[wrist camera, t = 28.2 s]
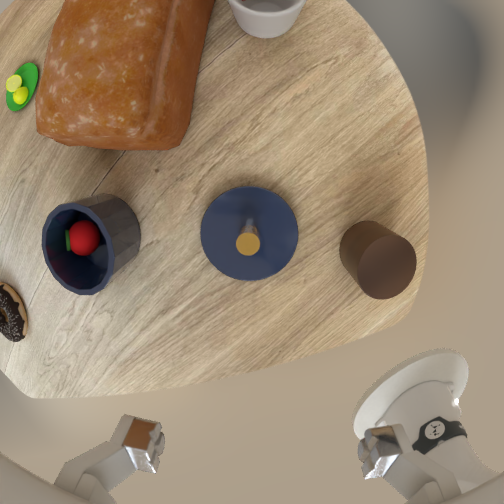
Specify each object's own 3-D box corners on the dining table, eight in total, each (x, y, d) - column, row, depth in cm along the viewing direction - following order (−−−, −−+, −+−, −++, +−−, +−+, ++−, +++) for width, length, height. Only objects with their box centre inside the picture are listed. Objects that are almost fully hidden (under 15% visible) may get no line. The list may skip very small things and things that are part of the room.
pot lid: (311, 253, 34) (319, 267, 29) (230, 291, 36) (226, 309, 31) (271, 168, 31) (273, 169, 27) (185, 212, 33) (174, 220, 28)
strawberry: (103, 248, 30) (67, 253, 28) (100, 256, 34) (68, 261, 31) (99, 213, 31) (64, 217, 28) (96, 225, 34) (65, 229, 32)
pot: (155, 250, 34) (131, 273, 27) (99, 282, 36) (72, 307, 29) (116, 178, 32) (83, 184, 24) (63, 218, 33) (30, 232, 26)
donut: (21, 283, 37) (7, 292, 33) (38, 341, 40) (26, 352, 36) (-11, 276, 37) (-24, 284, 33) (4, 329, 40) (-7, 338, 36)
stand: (396, 260, 34) (422, 281, 27) (350, 283, 35) (368, 310, 28) (380, 211, 32) (407, 223, 25) (330, 235, 33) (347, 254, 27)
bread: (88, 149, 30) (0, 153, 15) (130, -19, 23) (80, -74, 8) (189, 154, 31) (132, 149, 16) (226, -27, 23) (210, -103, 8)
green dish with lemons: (3, 99, 27) (-9, 98, 24) (26, 57, 25) (15, 53, 23) (22, 119, 29) (10, 119, 26) (47, 73, 27) (36, 70, 24)
